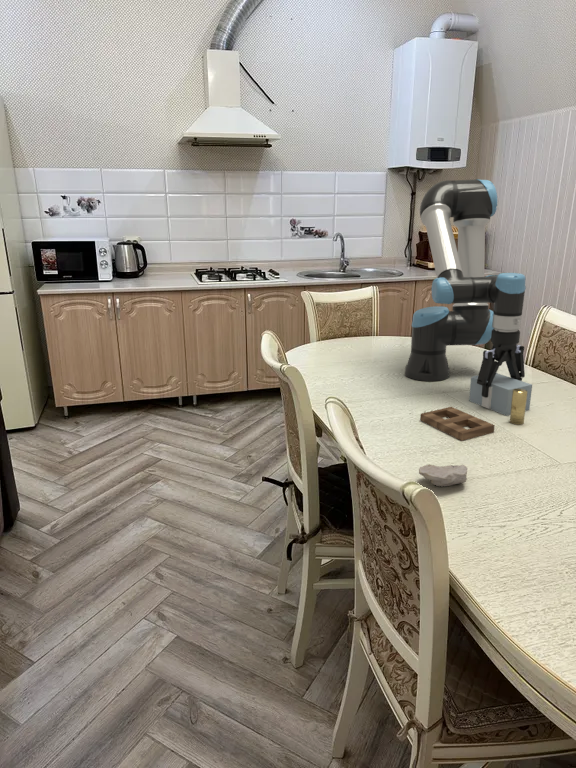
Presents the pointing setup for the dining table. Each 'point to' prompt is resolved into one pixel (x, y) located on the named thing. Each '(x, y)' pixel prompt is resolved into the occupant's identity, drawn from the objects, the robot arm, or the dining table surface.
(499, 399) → the housing
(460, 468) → the fossil
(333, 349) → the dining table surface
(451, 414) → the board
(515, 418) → the peg
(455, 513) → the dining table surface
